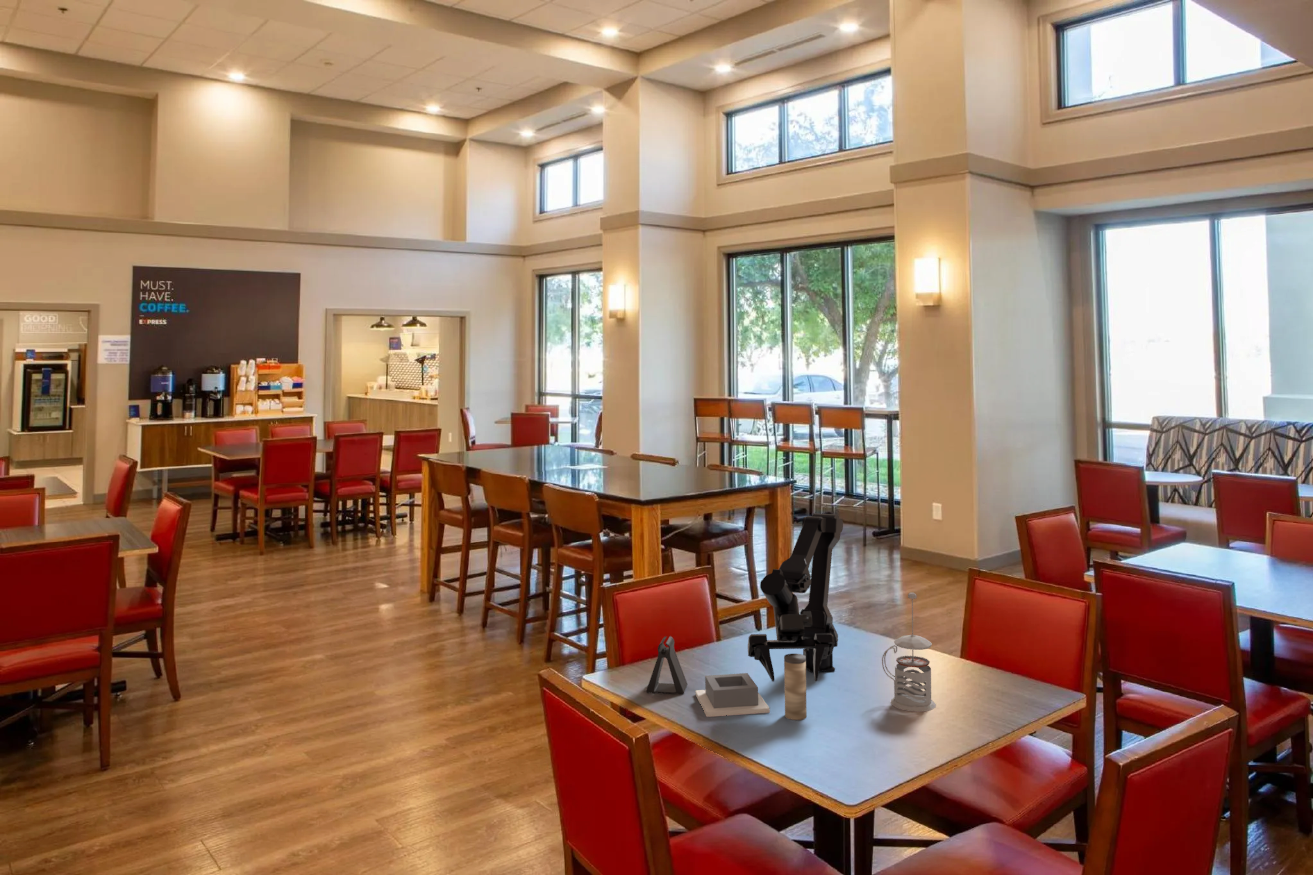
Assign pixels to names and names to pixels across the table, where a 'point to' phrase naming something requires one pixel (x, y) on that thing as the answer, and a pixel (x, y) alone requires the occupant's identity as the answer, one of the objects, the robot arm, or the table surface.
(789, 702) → the rail post
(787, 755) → the table surface
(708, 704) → the post socket
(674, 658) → the phone stand
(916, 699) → the french press
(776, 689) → the table surface
